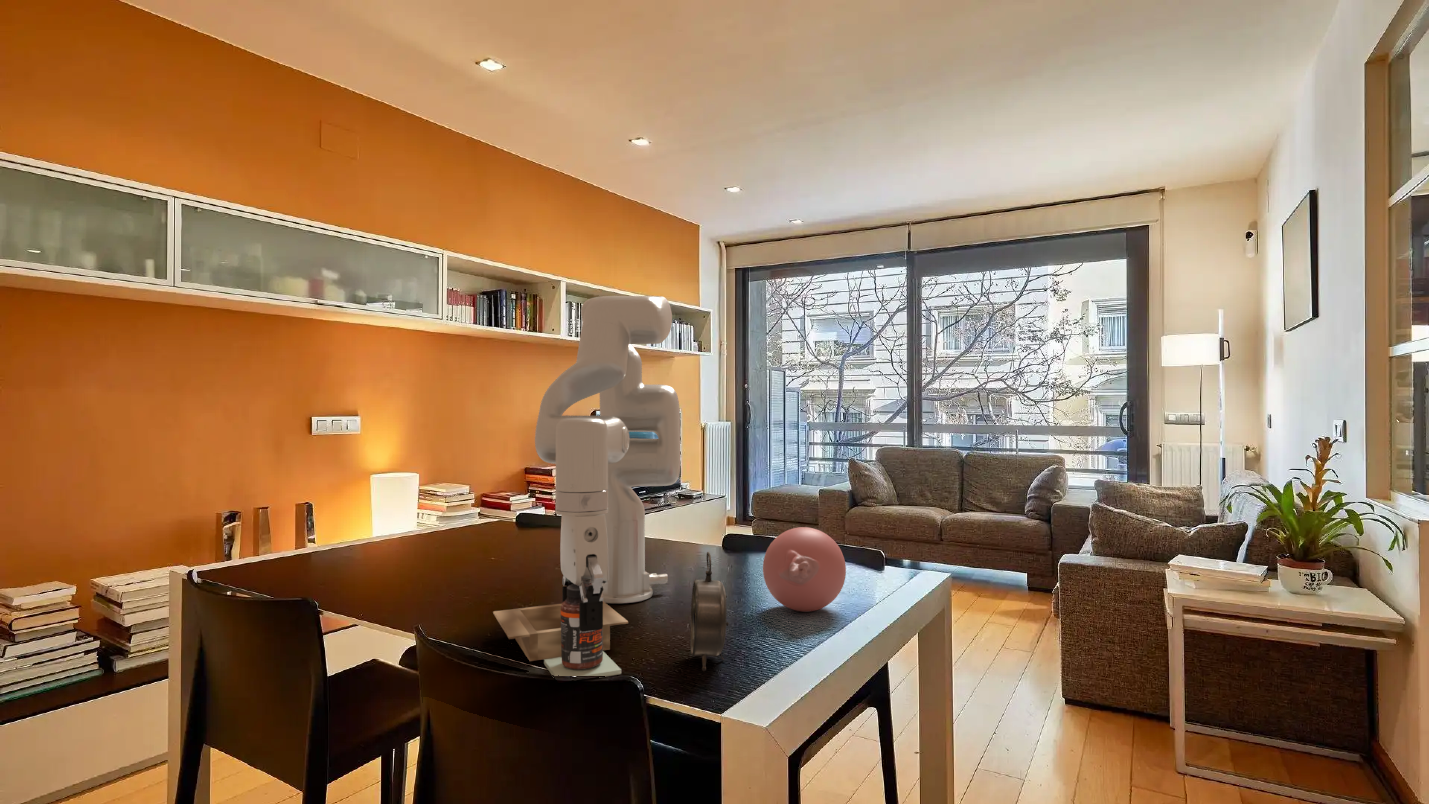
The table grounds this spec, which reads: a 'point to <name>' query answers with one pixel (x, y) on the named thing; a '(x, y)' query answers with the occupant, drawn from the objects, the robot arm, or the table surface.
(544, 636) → the carton
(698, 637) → the alarm clock
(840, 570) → the salmon rubber sphere
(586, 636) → the supplement bottle
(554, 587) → the table surface
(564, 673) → the coaster
